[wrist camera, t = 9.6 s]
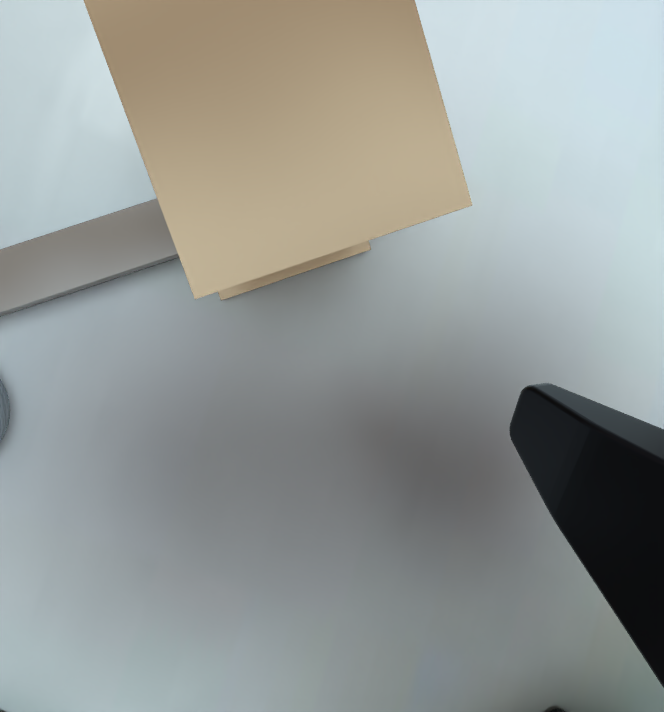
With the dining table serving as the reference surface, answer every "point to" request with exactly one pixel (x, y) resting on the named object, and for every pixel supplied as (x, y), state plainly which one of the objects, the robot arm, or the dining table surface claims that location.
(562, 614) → the dining table surface
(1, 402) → the steel token
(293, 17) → the blade tool
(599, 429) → the robot arm
